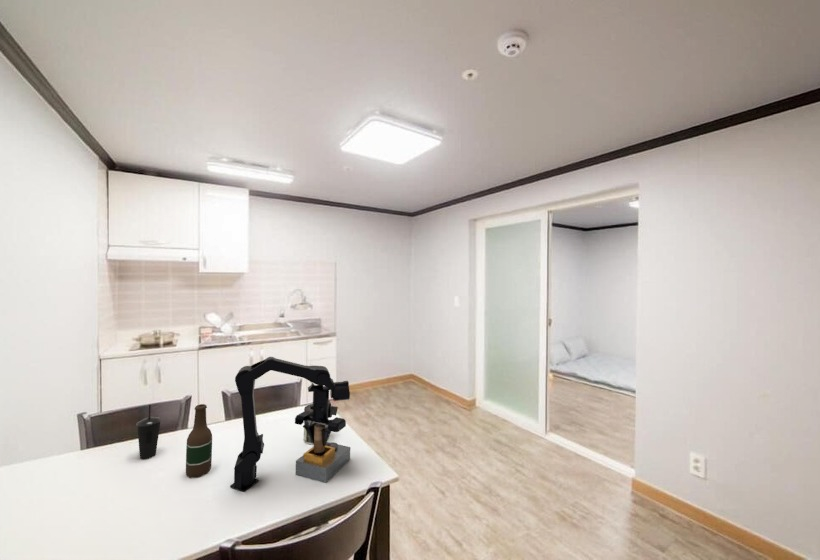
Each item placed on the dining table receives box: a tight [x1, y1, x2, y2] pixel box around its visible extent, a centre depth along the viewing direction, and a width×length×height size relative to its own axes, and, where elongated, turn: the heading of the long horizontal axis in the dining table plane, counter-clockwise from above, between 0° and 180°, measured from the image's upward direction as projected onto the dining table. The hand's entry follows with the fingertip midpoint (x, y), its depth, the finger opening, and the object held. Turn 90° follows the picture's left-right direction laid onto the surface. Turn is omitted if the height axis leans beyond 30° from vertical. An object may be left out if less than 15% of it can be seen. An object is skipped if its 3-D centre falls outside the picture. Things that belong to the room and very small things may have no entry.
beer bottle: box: [185, 403, 213, 479], centre depth 116 cm, size 8×8×24 cm
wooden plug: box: [313, 424, 325, 453], centre depth 118 cm, size 4×4×9 cm
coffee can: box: [303, 403, 314, 445], centre depth 143 cm, size 10×10×14 cm
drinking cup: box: [135, 404, 162, 460], centre depth 126 cm, size 8×8×20 cm
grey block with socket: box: [294, 441, 351, 484], centre depth 121 cm, size 16×13×8 cm
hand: (319, 444), depth 118 cm, fingers closed on wooden plug, 4 cm apart
